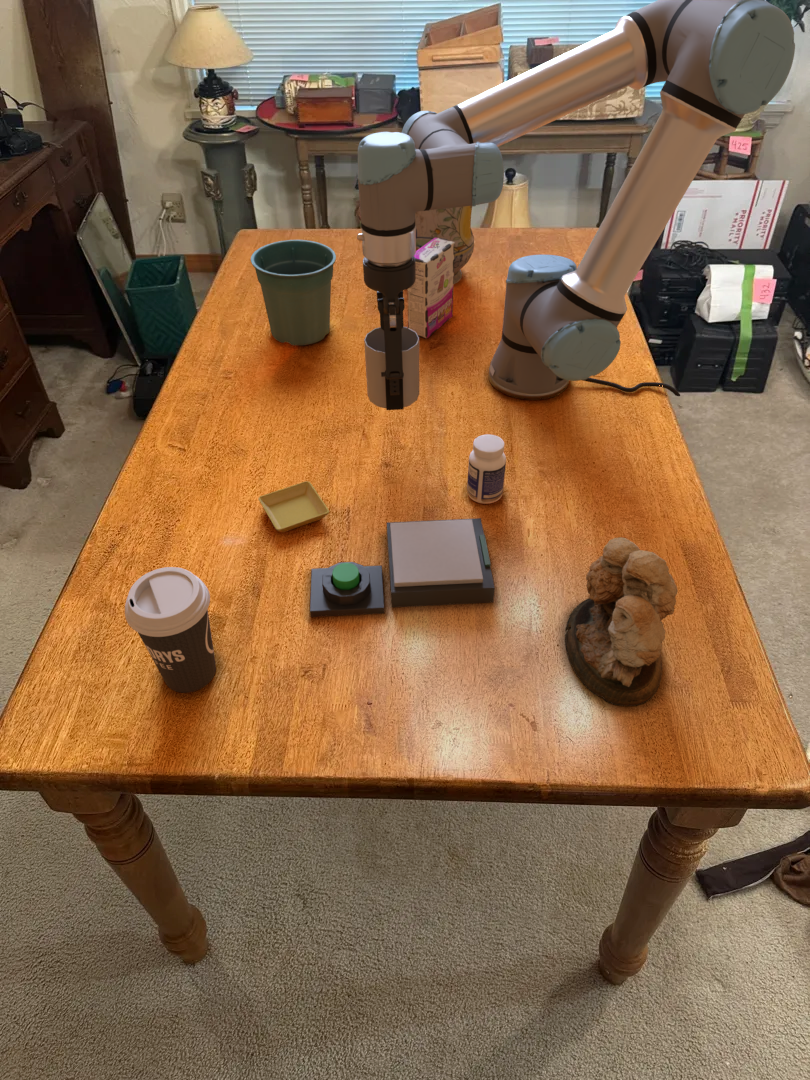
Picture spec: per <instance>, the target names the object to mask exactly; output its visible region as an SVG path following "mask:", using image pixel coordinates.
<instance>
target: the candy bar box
mask: <svg viewBox="0 0 810 1080" xmlns="http://www.w3.org/2000/svg"><path fill="white" fill-rule="evenodd" d="M454 243H455V242H452V241H448V240H444V239H440V238H433V239H432V240H431V241H429V242H428V243H427V244H425V245H424V246H422V247H421V248H420V249H418V250H417V251H416V253H415V255H414V257H415V259H416V280H415V283H414V284H413V285H412V286H411V287H410V288H408V289H406V292H407V328H409V329H411V330H413V331H415V332H416V333H417V335H418V337H419V338H424V339H428V338H430V337H431V336H432V335H433V334H434V333H436V331H437V330H439V329H440V328H442V326H443V325H445V324H446V323H447V322H448V321H449V320H450V319H452V318H453V316H454V315H453V313H454V311H453V310H454V284H453V278H454Z"/></svg>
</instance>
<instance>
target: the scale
mask: <svg viewBox="0 0 810 1080" xmlns="http://www.w3.org/2000/svg"><path fill="white" fill-rule="evenodd" d="M386 544H387V561H388V576H389V589H390V590H389V591H390V592H389V593H390V606H391V608H406V607H407V608H408V607H409V608H410V607H427V606H449V605H467V604H468V605H469V604H470V605H471V604H487V603H488V604H489V603H491V604H492V603H494V597H495V591H496V590H495V589H496V587H495V582H494V577H493V572H492V567H491V566H492V563H491V559H490V554H489V547H488V543H487V538H486V535H485V532H484V527H483V522H482V518H480V517H478V518H475V517H474V518H457V519H456V518H454V519H433V520H411V521H390V522H386Z"/></svg>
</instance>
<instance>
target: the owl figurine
mask: <svg viewBox="0 0 810 1080" xmlns="http://www.w3.org/2000/svg"><path fill="white" fill-rule="evenodd" d="M588 568H589V570H588V571H587V573H586V575H585V580H586V590H587V593H588V594H589V595H588V598H586V599H585V600H583V601H581V602H580V603H578V605H576V607H574V609H573V610H572V611H571V612H570V615H569V617H568V619H567V621H566V625H565V631H564V632H566V633H565V634H564V644H565V651H566V654H567V657H568V660H569V663H570V665H571V667H572V669H573V672H574V673H575V674H576V676H577V677H578V678H579V680H580V681H581V683H582V684H583V686H585V687H586V688H587V689H588V690H589V691H590V692H591V693H593V695H596V696H598V697H599V698H602V699H603V700H604V701H605V702H607V703H608V704H611V705H614V706H621V707H634V706H635V707H637V706H640V705H643V704H646V703H647V702H649V700H651V699H652V698H653V697H654V696H655V694H656V693H657V691H658V689H659V688H660V685H661V681H662V676H663V668H664V667H663V658H662V657H663V656H662V652H661V651H662V649H663V642H664V641H665V639H666V629H665V627H664V623H663V622H662V621H663V619H665V618H667V617H668V616H671V615H673V614H674V613H675V606H676V604H677V599H676V597H677V595H678V592H679V591H678V586H677V584H676V582H675V579H674V577H673V575H672V574H671V573H670V568H669V566H668V564H667V561H666V560H665V559H664V558H662V557H660V556H659V555H658V554H657V553H656V552H654V551H650V550H649V551H648V550H643V549H640V547H639V546H638V545H637V544H636V543H635V542H633V541H631V540H630V539H628V538H626V537H622V536H618V537H614V538H611V539H609V540H608V542H607V543H606V544H605V545H604V547H603V549H602V555H600V556H599V557H598V558H597V559H596V560H594V561H593V562H592V563H591V564H590V565H589V567H588Z"/></svg>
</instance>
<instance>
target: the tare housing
mask: <svg viewBox="0 0 810 1080" xmlns="http://www.w3.org/2000/svg"><path fill="white" fill-rule="evenodd" d="M342 563H351V564H354V565H355V566H356V567H357V568H358V570H359V584H358V585H357V586H356V587H355V588H353V589H351V590H340V589H338V588H336V587H335V585H334V583H333V575H332V572H333V569H334V568H335V567H336V566H337V565H339V564H342ZM383 576H384V575H383V565H363V564H360V563H358V562H355V561H340V562H337V563H335V564H333V565H330V566H329V567H318V568H317V567H316V568H311V570H310V597H309V616H310V618H318V617H341V616H357V615H358V616H359V615H360V616H361V615H379V614H385V596H384V595H385V593H384V580H383V578H384V577H383Z"/></svg>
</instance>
